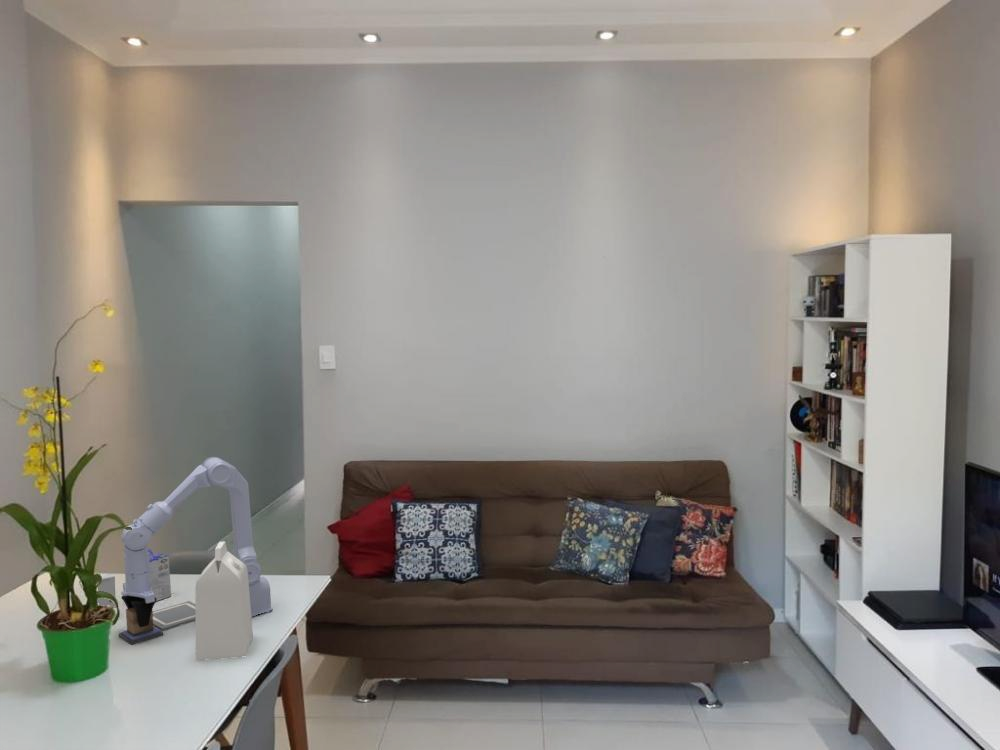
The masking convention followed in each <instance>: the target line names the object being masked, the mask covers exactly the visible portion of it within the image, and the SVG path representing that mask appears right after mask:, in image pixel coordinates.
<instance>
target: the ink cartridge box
mask: <svg viewBox="0 0 1000 750" xmlns="http://www.w3.org/2000/svg"><path fill="white" fill-rule="evenodd" d="M148 553H149V569H150V586H151V587H152V592H153V594H154V595H155V598H156V602H158V601H161V600H164V599H167V598H170V597H172V589H171V588H172V587H171V576H170V575H171V573H170V557H169V555H166V554H162V553H156V554H154V553H153V550H152V549H151V548H149V549H148Z"/></svg>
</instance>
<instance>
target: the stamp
mask: <svg viewBox="0 0 1000 750" xmlns="http://www.w3.org/2000/svg"><path fill="white" fill-rule="evenodd" d="M153 611H154V610H152V612H151V616H150V621H149V625H147V626H144V627H140V626H139V624H138V619H137V614H136V611H135V609H134V607H132V608H129V609H128V608H125V613H126V615H125V616H126V630H127V632H128V633H129V634H131V635H133V636H136V635H139V634H143V633H146V632H149V631H153V630H154V629H153Z"/></svg>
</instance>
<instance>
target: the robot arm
mask: <svg viewBox="0 0 1000 750" xmlns="http://www.w3.org/2000/svg"><path fill="white" fill-rule="evenodd" d="M210 483H211V484H212V485H215V486H218V487H222V488H224V489H226V490H227V491H229V503H230V516H231V526H232V540H233V547H232V548H233V549H232V553H231V554H232V555H233V556H235V557H236V558H237V559H239V560H240V561H242V562H243V563H244V564H245V565H246V567H247V570H248V581H249V594H250V606H251V618H252V617H253V616H254V617H257V616H259V615H258V614H260V615H262V614H261V613H263V614H265V613H264V612H266V613H268V612H267V611H269V612H271V611H270V610H272V609H273V608H272V601H271V600H272V599H271V595H272V594H271V585H270V582H269V580H268V578H266V577H265V576H262V567H261V565H260V564H259V562H258V559H257V558H258V555H257V554H256V550H255V548H254V540H253V539H254V538H253V528H252V516H251V501H250V490H249V489H250V488H249V483H248V481H247V480H246V478H245V477H244V476H243V475H242V474H241V473H240V472H239V471H238V469H237V468H236V467H235V466H234V465H232V464H230V463H229V462H227V461H225V460H224V459H222V458H220V457H217V456H211V457H208V458H206V459H205V460H204V461H203V462H202V464H200V465H198V466H196V467H195V468H194V470H193V471H192V472H191V473H190V474H189V475H188V476H187V477H186V478H185V479H183V481H182V482H181V483H180V484H179V485H178V486H177V487H176V488H175V489H174V490H173V492H171V494H169V495H168V497H166V498H165V499H164V500H163V501H155V502H154V503H153V504H152V503H150V504H149V505H148V506H146V509H147V510H146V511H145V512H143V514H141V515H140V516H139V517H138V518H134V519H133V521H132V524H129V525H127V526H126V527H131V528H132V530H126V529H125V528H124V529H123V531H122V534H121V535H120V539H121V540H122V542H123V544H124V546H123V548H124V549H123V553H124V555H123V561H124V576H125V577H124V578H125V579H124V581H125V582H124V583H122V591H121V592H120V594H121V600H123V603H124V604H125V606H126V609H129V608H132V607H134V609H135V611H136V614H137V619H138V624H139V626H140V627H144V626H147V625H149V621H150V616H151V612H152V611H153V608H154V605H156V603H157V601H156V598H155V595H154V594H153V592H152V587H151V586H150V569H149V554H150V552H148V545H150V541H151V537H153V536H154V535H155V534H156V533H157V532H159V531H160V530H161V529H162V528H163V527H164V526H165V525H166V524H167V523H168V522H169V521H170V520H171V519H172V518H173V516H174V510H175V509H176V508H177V507H179V505H181V504H182V503H183V502H184V501H185V500H186V499H188V498H189V497H190V496H191V495H192V494H193V493H195V492H196V491H197V490H199V489H206V488H210V487H211V484H210ZM272 611H273V610H272ZM256 615H257V616H256Z"/></svg>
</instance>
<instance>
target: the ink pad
mask: <svg viewBox="0 0 1000 750" xmlns="http://www.w3.org/2000/svg"><path fill="white" fill-rule="evenodd" d="M153 629H154V630H153V631H149V632H146V633H143V634H139V635H136V636H133V635H131V634H129V633H128V632H127V629H126V630H124V631H123V630H122V631H121V632H119V633H118V638H120V639H122V640H123V641H124V642H126V643H128V644H129V645H131V646H133V645H136V644H139V643H142V642H146V641H150V640H152V639H155V638H159V637H162V636H164V631H161V630H160V629H158V628H156V627H155V626H153Z"/></svg>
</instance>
